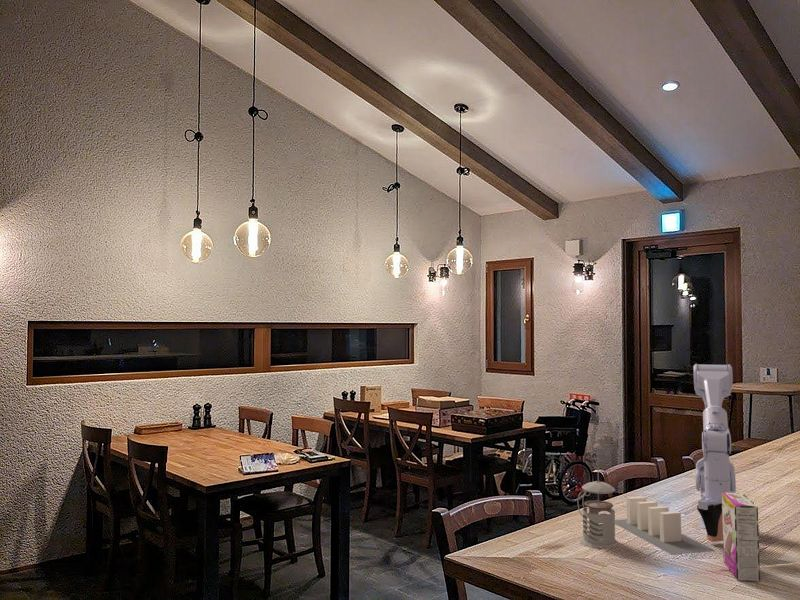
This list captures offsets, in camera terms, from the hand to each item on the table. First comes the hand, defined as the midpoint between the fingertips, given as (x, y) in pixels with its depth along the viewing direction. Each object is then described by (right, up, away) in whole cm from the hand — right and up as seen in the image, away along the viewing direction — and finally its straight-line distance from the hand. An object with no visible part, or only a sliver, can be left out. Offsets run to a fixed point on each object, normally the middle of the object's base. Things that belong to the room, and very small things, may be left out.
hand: (718, 533), depth 168 cm
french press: (-29, -4, +3) cm, 30 cm away
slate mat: (-12, -3, +7) cm, 14 cm away
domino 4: (-11, -3, +2) cm, 11 cm away
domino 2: (-13, -3, +12) cm, 18 cm away
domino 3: (-12, -3, +7) cm, 14 cm away
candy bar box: (-4, -3, -18) cm, 19 cm away
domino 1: (-14, -3, +17) cm, 22 cm away
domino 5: (0, -2, 0) cm, 2 cm away
